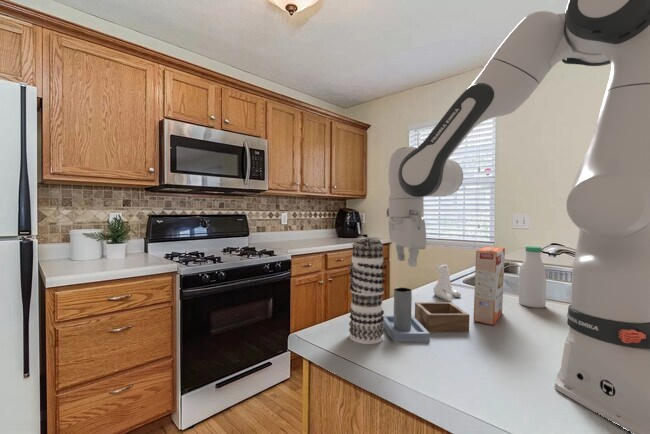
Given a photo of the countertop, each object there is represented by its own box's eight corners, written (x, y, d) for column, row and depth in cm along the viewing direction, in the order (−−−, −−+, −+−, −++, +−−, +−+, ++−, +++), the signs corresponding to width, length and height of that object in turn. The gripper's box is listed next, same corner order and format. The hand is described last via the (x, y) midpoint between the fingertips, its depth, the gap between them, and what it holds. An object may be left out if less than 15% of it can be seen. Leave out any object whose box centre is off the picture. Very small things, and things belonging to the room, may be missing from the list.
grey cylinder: (412, 331, 82) (412, 292, 82) (394, 330, 83) (394, 291, 82) (409, 325, 87) (410, 287, 86) (392, 324, 87) (393, 287, 87)
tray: (429, 341, 78) (429, 333, 78) (393, 341, 78) (393, 333, 78) (412, 322, 91) (412, 315, 91) (381, 322, 91) (381, 315, 91)
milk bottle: (550, 308, 105) (552, 248, 105) (527, 308, 105) (529, 248, 105) (535, 301, 113) (537, 245, 112) (513, 301, 113) (515, 245, 112)
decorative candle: (392, 338, 80) (394, 238, 79) (368, 348, 74) (369, 241, 73) (365, 327, 87) (366, 236, 86) (340, 336, 81) (341, 237, 80)
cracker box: (495, 326, 89) (498, 251, 88) (472, 321, 92) (474, 249, 92) (504, 313, 100) (505, 247, 99) (482, 309, 103) (484, 245, 103)
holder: (469, 331, 85) (469, 314, 85) (428, 331, 84) (428, 314, 84) (450, 317, 96) (451, 302, 96) (414, 317, 95) (415, 302, 95)
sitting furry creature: (449, 302, 111) (450, 268, 111) (427, 296, 118) (428, 264, 118) (462, 297, 118) (463, 265, 117) (440, 292, 124) (441, 261, 124)
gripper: (433, 209, 73) (433, 269, 74) (406, 210, 94) (406, 257, 94) (406, 210, 73) (406, 270, 73) (385, 210, 94) (385, 258, 94)
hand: (406, 263), depth 84 cm, fingers open, 8 cm apart
